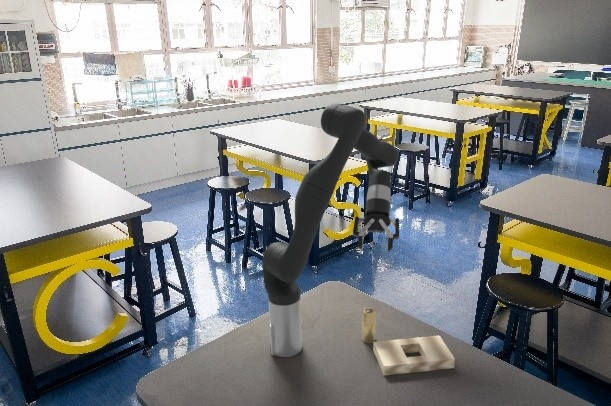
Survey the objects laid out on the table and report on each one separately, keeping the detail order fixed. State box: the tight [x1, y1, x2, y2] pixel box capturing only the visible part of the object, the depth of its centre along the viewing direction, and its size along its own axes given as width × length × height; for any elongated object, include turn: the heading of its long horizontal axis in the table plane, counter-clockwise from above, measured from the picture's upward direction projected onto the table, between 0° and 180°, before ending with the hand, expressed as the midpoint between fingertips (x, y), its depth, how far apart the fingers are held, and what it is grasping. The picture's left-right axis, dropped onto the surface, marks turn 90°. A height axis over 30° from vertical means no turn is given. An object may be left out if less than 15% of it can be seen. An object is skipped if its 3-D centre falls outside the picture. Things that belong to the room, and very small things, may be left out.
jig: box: [372, 335, 456, 376], centre depth 138 cm, size 20×11×3 cm, turn 97°
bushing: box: [361, 306, 377, 344], centre depth 146 cm, size 4×4×10 cm
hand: (374, 250), depth 149 cm, fingers open, 8 cm apart
